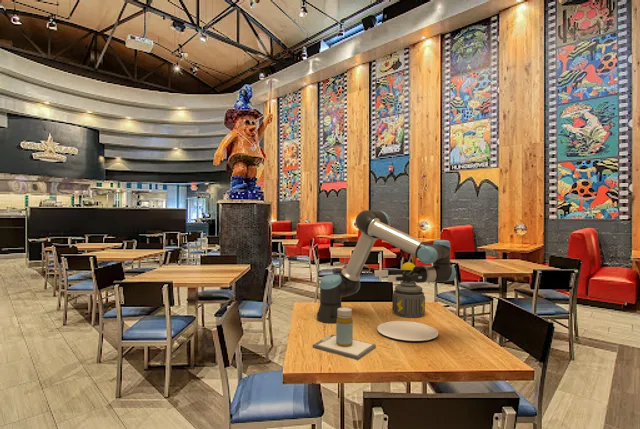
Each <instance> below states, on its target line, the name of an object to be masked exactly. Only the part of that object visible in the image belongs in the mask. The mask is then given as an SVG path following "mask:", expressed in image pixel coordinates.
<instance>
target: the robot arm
mask: <svg viewBox="0 0 640 429" xmlns="http://www.w3.org/2000/svg"><path fill="white" fill-rule="evenodd" d="M390 225H391V221H390V218H389V215H388V214H387V213H386V212H385V211H382V210H378V209H376V210H368V209H367V210H362V211H360V212H359V213H358V214H357V216H356V218H355V227H356V228H357V229H358V231H360V232H361V234H360V236H359V238H358V240H357V242H356V245H355V247H354V249H353V251H352V253H351V256H350V258H349V260H348V263H347V265H346V266H345V268H343V269H342V270H341V271H340V274H328V275H324V276H323V277H321V278H320V281H319V282H320V283H319V307H318V311H317V314H316V320H317V321H319V322H321V323H324V324H326V323H327V324H336V320H337V317H338V316H337V315H338V314H337V310H338V308H342V306H343V305H342V298H345V297H350V296H353V295H355V294H357V293H358V291H359V290H360V288H361V275H360V274H361V273H362V270H363V268H364V266H365V264H366V261H367V260H368V258H369V255H370V253H371V252H372V249H373V247H374V244H375V242H376V241H377V240H379V239H380V240H382V241H383V242H386V243H388V244H389V245H392V246H394V247H396V248H398V249H399V250H402V251H404V252H406V253H408V254H411V255H412V256H414V257H416V258H417V259H418V260H419V261H420V262H421V263H423V264H426V265H423V266H421V265H418V266H417V265H415V266H416V267H414V268H413V270H412V271H411V270H401V269H389V268H387V269H382V270H380V269H378V270H377V269H376V270H374V277H377V278H378V277H386V278H387V282H388V283H396V282H397V283H398V282H400V283H401V282H402V281H404V282H406V281H407V282H413V281H415V283H416V284H420V283H421V284H422V283H428V284H431V283H440V282H441V283H442V282H443V283H447V282H452V281H454V280H455V279H456V277H457V271H456V268H455V267H454V266H453V265H452V264H451V242H450V241H449V240H446V239H435V240H433V244H432V245H431V244H430V243H426V242H425V241H422V240H420V239H418V238H417V237H414V236H412V235H410V234H408V233H406V232H404V231H401V230H400V229H397V228H394V227H392V226H390ZM427 264H429V265H427ZM430 264H433V265H430Z"/></svg>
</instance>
